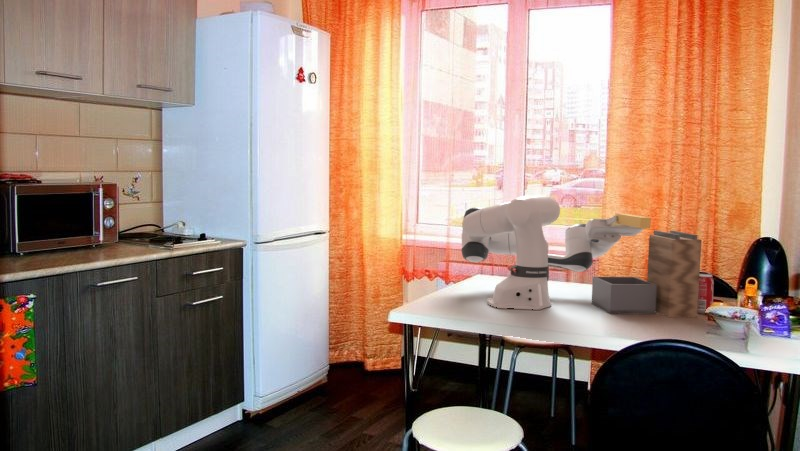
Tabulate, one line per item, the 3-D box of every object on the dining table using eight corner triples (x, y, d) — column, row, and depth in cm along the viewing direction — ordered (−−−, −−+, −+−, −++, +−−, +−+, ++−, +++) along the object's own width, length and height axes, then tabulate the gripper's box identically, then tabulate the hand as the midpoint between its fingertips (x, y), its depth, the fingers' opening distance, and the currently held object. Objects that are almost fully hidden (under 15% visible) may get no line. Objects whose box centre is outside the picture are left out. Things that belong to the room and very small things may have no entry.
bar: (640, 228, 210) (640, 217, 210) (614, 223, 230) (615, 213, 230) (650, 228, 211) (650, 217, 210) (624, 223, 230) (624, 213, 230)
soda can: (714, 314, 217) (717, 277, 216) (692, 313, 219) (694, 275, 218) (709, 310, 224) (711, 273, 223) (687, 309, 226) (689, 272, 224)
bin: (609, 313, 215) (611, 284, 215) (591, 303, 231) (592, 276, 230) (655, 313, 217) (656, 284, 216) (634, 303, 233) (635, 276, 232)
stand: (668, 317, 212) (672, 235, 210) (645, 306, 228) (649, 230, 226) (696, 317, 213) (701, 235, 211) (672, 306, 229) (676, 230, 226)
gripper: (636, 241, 239) (652, 226, 227) (583, 240, 238) (597, 225, 225) (633, 226, 242) (649, 210, 230) (581, 225, 240) (594, 209, 228)
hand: (623, 217), depth 227 cm, fingers closed on bar, 3 cm apart
